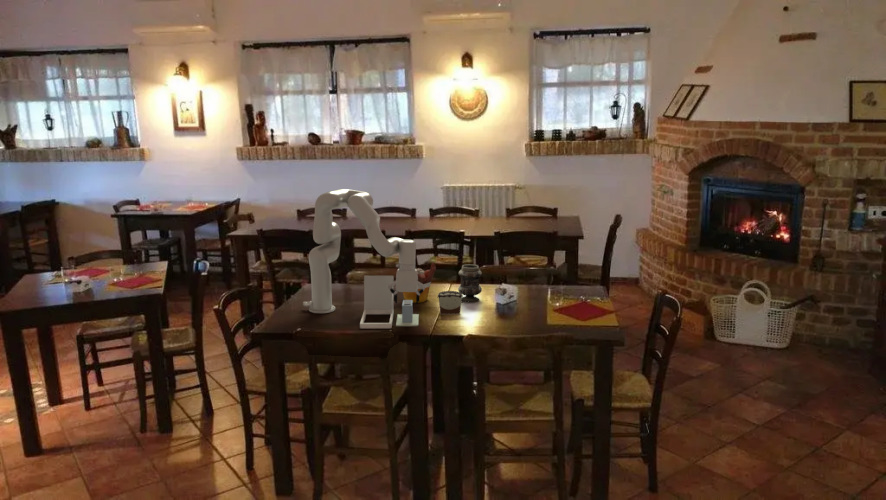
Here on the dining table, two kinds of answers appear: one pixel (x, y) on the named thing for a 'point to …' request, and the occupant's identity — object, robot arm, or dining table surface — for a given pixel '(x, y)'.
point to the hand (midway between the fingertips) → (406, 302)
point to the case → (378, 300)
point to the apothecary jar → (470, 283)
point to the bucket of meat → (424, 279)
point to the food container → (450, 302)
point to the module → (407, 310)
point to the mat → (413, 323)
